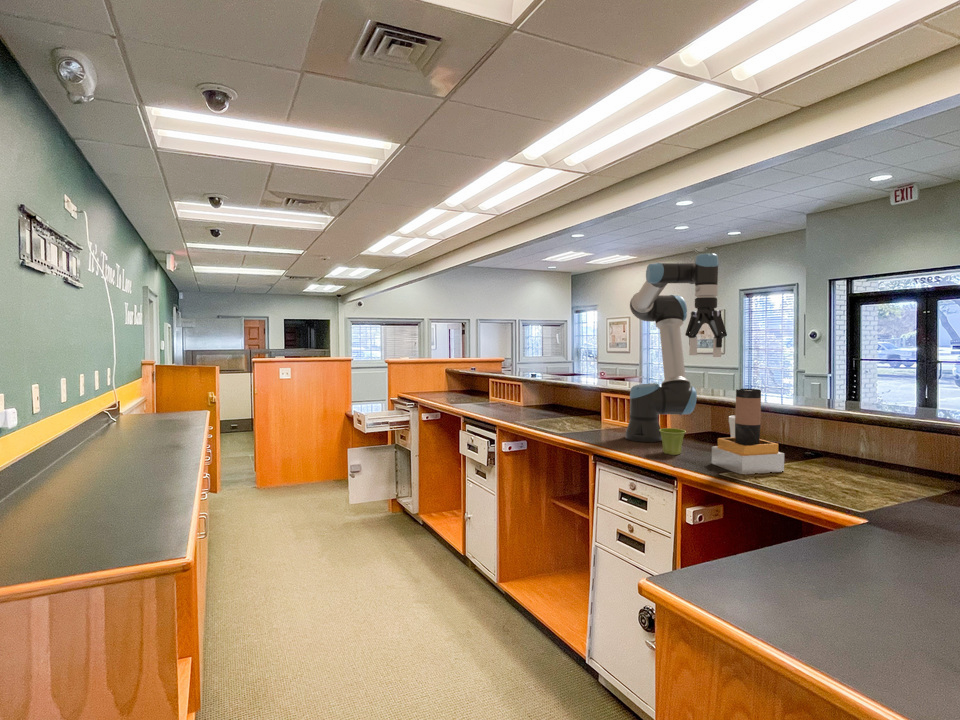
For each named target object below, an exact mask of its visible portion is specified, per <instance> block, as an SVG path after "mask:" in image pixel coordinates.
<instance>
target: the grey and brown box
mask: <svg viewBox="0 0 960 720" xmlns="http://www.w3.org/2000/svg"><path fill="white" fill-rule="evenodd" d="M710 463H711V464H712V465H714V466H716V467H717V466H718V467H720V468H722V469H725V470H728V471H729V472H730V471H731V472H734V473H736V474H738V475H741V474H745V475H754V474H755V473H758V474H771V473H770V472H772V473H782V471H784V472H785V453H784V452H780V451H779V443H776V442H772V441H768V440H765V439H760V440H759V444H757V445H743V444H739V443H736V442H735V437H731V436H730V437H718V438H717V445H715V446H713V445H712V446H711V462H710Z"/></svg>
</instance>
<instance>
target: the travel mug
mask: <svg viewBox="0 0 960 720" xmlns="http://www.w3.org/2000/svg"><path fill="white" fill-rule="evenodd" d="M761 404H762V390H761V389H757V388H740V389H736V390H735V414H734V415H735V442H736V443H739V444H743V445H757V444H759V440H760V438H761V423H762V422H761V420H762V418H761V416H762V415H761V413H762V405H761Z"/></svg>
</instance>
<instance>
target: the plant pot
mask: <svg viewBox="0 0 960 720" xmlns="http://www.w3.org/2000/svg"><path fill="white" fill-rule="evenodd" d="M659 431H660V433H661V436H662V440H661V443H662V451H663V452H662V453H664V454H666V455H672V456H677V455H681V452H682V446H683V441H684V437H685V433H687V431H686V430H685V429H682V428H681V429H680V428H672V427H671V428H670V427H669V428H668V427H665V428H664V427H663V428H661V429H660V430H659Z"/></svg>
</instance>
